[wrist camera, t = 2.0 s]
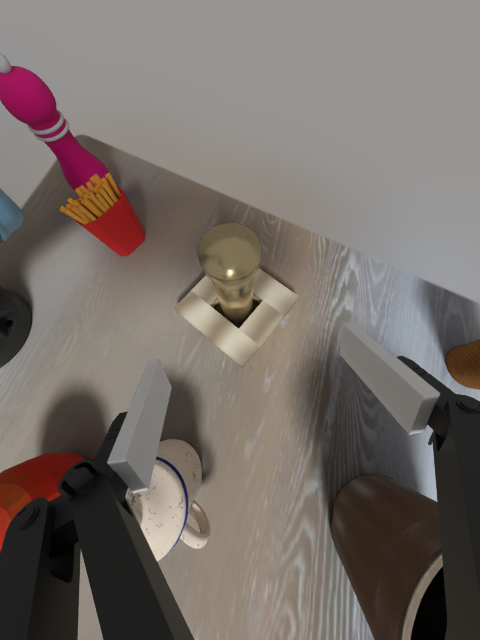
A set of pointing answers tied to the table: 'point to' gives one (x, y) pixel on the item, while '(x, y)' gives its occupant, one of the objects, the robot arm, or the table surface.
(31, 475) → the apple
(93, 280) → the table surface
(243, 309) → the gold stepped cylinder
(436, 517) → the plant pot
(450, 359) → the disposable coffee cup
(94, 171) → the pepper mill
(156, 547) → the teacup with lid
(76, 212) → the french fries
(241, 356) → the socket block
